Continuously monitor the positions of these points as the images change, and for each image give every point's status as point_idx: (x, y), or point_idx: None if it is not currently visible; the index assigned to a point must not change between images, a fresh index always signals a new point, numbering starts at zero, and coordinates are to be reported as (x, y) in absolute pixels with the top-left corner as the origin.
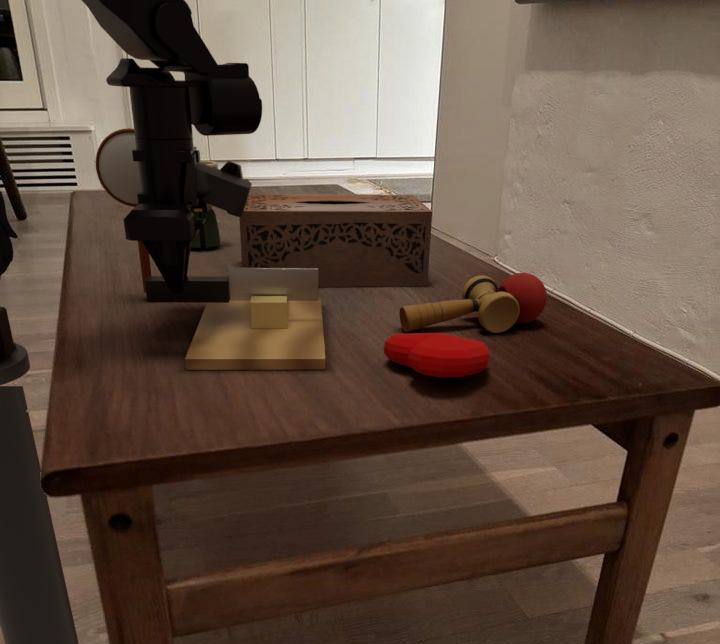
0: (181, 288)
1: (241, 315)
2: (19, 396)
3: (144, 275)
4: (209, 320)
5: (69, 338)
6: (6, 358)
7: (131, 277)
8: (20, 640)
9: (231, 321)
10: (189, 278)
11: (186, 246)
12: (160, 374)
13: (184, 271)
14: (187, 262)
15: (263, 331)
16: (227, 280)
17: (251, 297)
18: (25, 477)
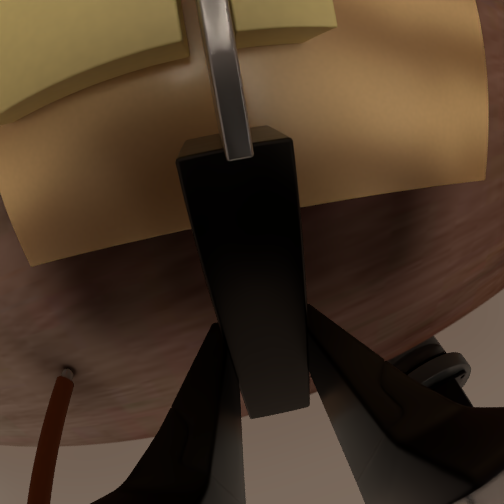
0: (320, 313)
1: (159, 106)
2: (425, 344)
3: (65, 412)
4: None
5: (311, 390)
6: (442, 379)
7: (6, 402)
8: None
9: None
10: (262, 325)
11: (397, 435)
12: (476, 209)
13: (228, 365)
14: (220, 388)
15: None
16: (269, 143)
17: (265, 26)
18: None
